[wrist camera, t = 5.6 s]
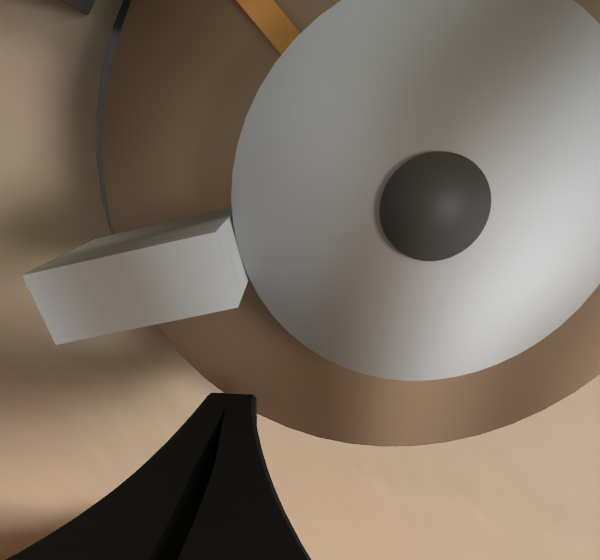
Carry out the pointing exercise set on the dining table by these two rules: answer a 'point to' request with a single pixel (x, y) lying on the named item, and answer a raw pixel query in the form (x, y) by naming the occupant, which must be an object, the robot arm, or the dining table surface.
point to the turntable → (353, 208)
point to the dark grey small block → (80, 5)
